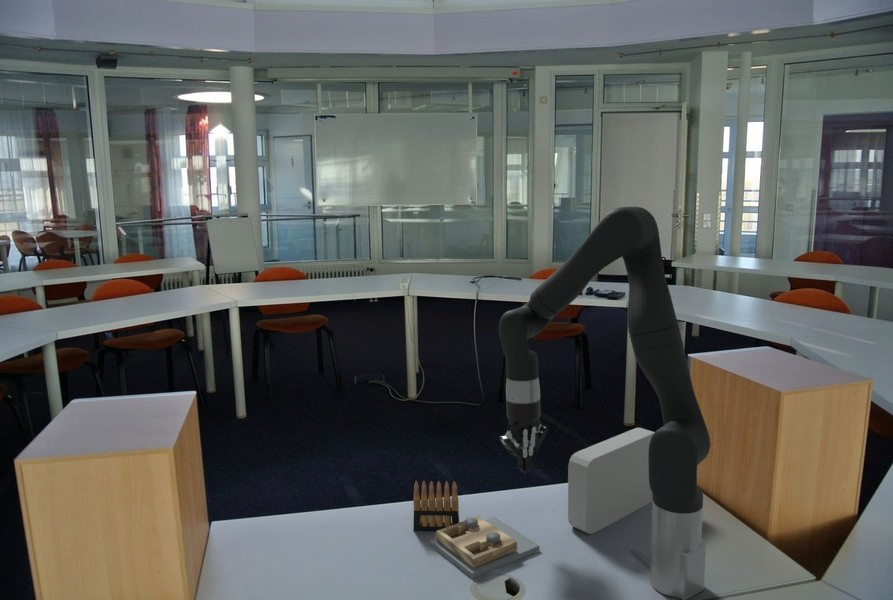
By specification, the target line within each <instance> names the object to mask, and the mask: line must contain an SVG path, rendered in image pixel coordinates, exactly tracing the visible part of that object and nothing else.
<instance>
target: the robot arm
mask: <svg viewBox="0 0 893 600" xmlns="http://www.w3.org/2000/svg"><path fill="white" fill-rule="evenodd" d="M662 255H663V254H662V247H661V240H660V232H659V228H658V222H657V221H656V219H655V217H654V216H653V214H652V213H651V212H650V211H648V210H647V209H646V208H644V207H641V206H622V207H621V206H620V207H617V208H614V209H611V210H610V211H608V212H607V213H606V214H605V215H604V216H603V218H602V219H601V220H600V221H599V222H598V223H597V224H596V225H595V227H594V228H593V229H592V231H591V232H590V233H589V235H588V236H587V237H586V238H585V240H584V241H583V242H582V244H581V245H580V246H579V247H578V248H576V250H575V251H574V253H572V255H571V256H570V257H569V258H568V259H567V260H566V261H565V262H564V263H562V264H561V265H560V266H559V267H558V268H557V269H556V270H555V271H554V272H552V274H551V275H549V276H548V277H547V278H546V279H545V280H544V281H543V282H542V283H541V284H539V286H537V287H536V288H535V289H534V290H533V291H532V293H531V294H530V297H529V300H528V301H527V302H526V303H525V304H524V305H522V306H521V307H517V308H515V309H511V310H508V311H506V312H504V313H503V314H502V316H501V318H500V319H499V324H498V336H499V339H500V344H501V347H502V352H503V355H504V357H505V363H506V364H505V366H506V367H505V369H506V370H505V371H506V373H505V375H506V381H505V382H506V383H505V404H506V406H505V407H506V417H507V420H508V423H507V424H508V425H507V427H506V430H507V431H506V433H505V434H504V435H500V436H499V437H498V438H499V439H498V440H499V441H500V443H501V444H502V445H503V447H504V448H505V449H506V450H507V451H508V452H509V454H511V455H513V456H515V457H517V468H518V470H519V471H520V472H521V473H524V474H527V473H529V472H531V469H532V467H533V466H532V464H533V463H532V460H533V459H532V456H533V455H534V452H538V451H539V450H540V448H541V446H542V444H543V441H544V440H545V437H546V436H547V434H548V431H549V428H548V427H547V426H546V425H542V423H541V420H540V418H541V416H542V415H541V414H542V413H541V386H540V379H539V358H538V354H537V352H536V351H534V350H531V349H530V347H529V343H528V341H529V340H528V339H531V338H533V337H535V336H537V335H538V334H540V333H541V332H542V331H543V330H545V328H546V327H547V326H548V325H549V324H550V323H551V322H552V321H553V319H554V317H555V316H557V315H558V314H559V313H561V312H562V311H563V310H564V309H566V308H567V307H568V306H569V305H570V304H572V303H573V301H575V300H576V299H577V298H578V297H579V296H580V295H581V294H582V293H583V291H584V289H585V288H586V287H587V286H588V284H589V283H590V282H591V280H592V279H593V278H594V277H595V276H596V275H597V274H598V273H600V272H601V271H602V270H603V269H605V268H606V267H607V266H609V265H611V264H612V263H614V262H615V261H617V260H619V259H620V258H622V260H623V263H624V267H625V270H626V274H627V278H628V300H627V301H628V302H627V314H626V315H627V318H626V319H627V320H626V321H627V329H628V334H629V339H630V342H631V346H632V350H633V354H634V357H635V359H636V362H637V365H638V366H639V368H640V369H641V371H642V373H643V374H644V375H645V378H647V380H648V382H649V383H650V384H651V386H652V387H653V389H654V391H655V393H656V395H657V398H658V401H659V406H660V410H661V415H662V416H661V417H662V420H663V426H661V427H660V428H658V429H656V431H654V432H655V433H654V434H653V435H652V437H651V440H650V443H649V453H648V463H649V485H650V489H651V491H652V502H651V530H650V531H651V533H650V536H651V537H650V538H651V539H650V571H649V573H650V574H649V583H650V585H651V586H652V587H653V588H654V589H655V590H656V591H657V592H659V593H661V594H662V595H664V596H668V597H673V598H678V599H681V600H688V599H690V598H692V597H694V596H695V595H697V594H700V592H703V591H704V590H705V575H706V574H705V573H706V555H707V554H706V553H707V552H706V551H707V550H706V548H707V546H706V544H705V543H703V542H702V532H703V529H702V528H703V509H704V508H703V507H704V493H703V490H702V489H701V488H700V487H699V486H698V484H697V483H698V482H697V481H698V465H700V464H701V463H702V462H704V460H706V458H707V457H708V454H709V453H710V449H711V438H710V434H709V431H708V428H707V425H706V422H705V419H704V417H703V414H702V411H701V408H700V405H699V403H698V400H697V396H696V393H695V391H694V385H693V382H692V378H691V373H690V369H689V366H688V365H689V364H688V360H687V356H686V353H685V348H684V343H683V338H682V334H681V330H680V327H679V322H678V321H679V320H678V319H677V315H676V312H675V306H674V304H673V300H672V296H671V293H670V288H669V285H668V281H667V277H666V274H665V268H664V262H663V256H662Z"/></svg>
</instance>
